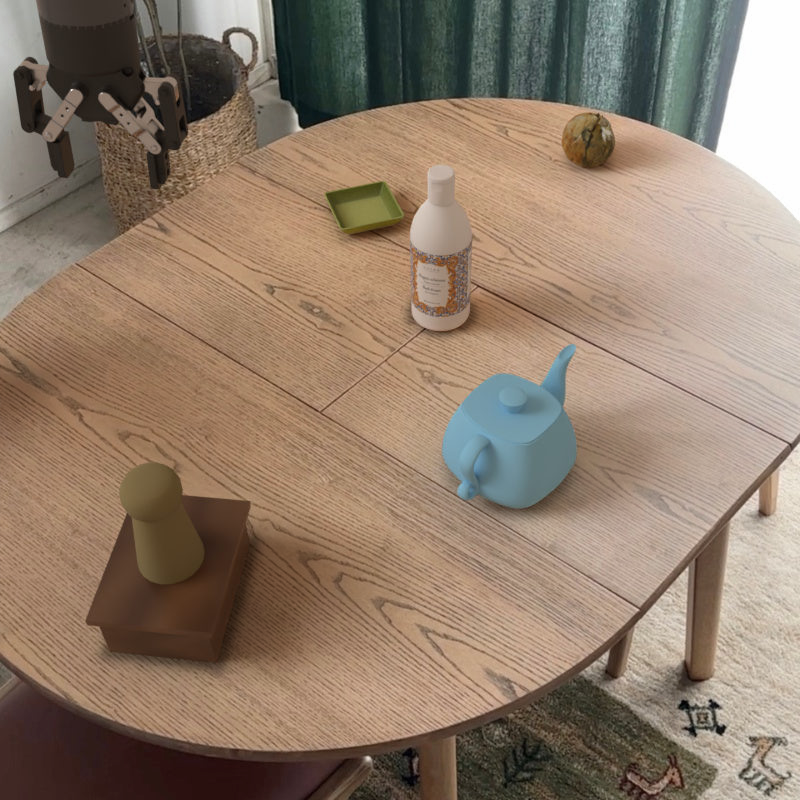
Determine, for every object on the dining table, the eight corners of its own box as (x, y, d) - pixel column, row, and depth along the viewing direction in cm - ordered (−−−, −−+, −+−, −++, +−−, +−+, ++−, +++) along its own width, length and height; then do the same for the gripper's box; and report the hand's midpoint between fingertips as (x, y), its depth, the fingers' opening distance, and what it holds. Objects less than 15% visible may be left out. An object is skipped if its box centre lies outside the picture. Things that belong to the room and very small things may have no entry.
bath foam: (403, 325, 125) (398, 183, 111) (423, 289, 129) (421, 148, 115) (458, 339, 123) (461, 196, 109) (477, 301, 128) (482, 160, 113)
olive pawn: (203, 524, 98) (182, 446, 90) (206, 578, 94) (184, 501, 86) (137, 534, 97) (110, 456, 89) (137, 589, 93) (109, 512, 85)
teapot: (626, 367, 104) (516, 475, 95) (613, 439, 112) (510, 546, 103) (523, 313, 110) (410, 410, 101) (517, 385, 118) (412, 481, 109)
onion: (622, 150, 149) (629, 99, 143) (605, 181, 144) (612, 130, 138) (570, 139, 151) (575, 89, 146) (552, 169, 146) (557, 118, 141)
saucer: (386, 192, 144) (385, 179, 142) (406, 229, 138) (405, 216, 136) (324, 205, 142) (322, 192, 140) (341, 243, 136) (340, 230, 135)
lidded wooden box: (100, 656, 96) (85, 620, 91) (147, 528, 105) (135, 490, 101) (221, 669, 94) (211, 633, 90) (257, 538, 104) (249, 500, 100)
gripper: (-20, 12, 83) (20, 191, 94) (157, 31, 82) (177, 210, 93) (18, -24, 88) (52, 149, 99) (185, -7, 87) (201, 167, 98)
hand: (112, 179), depth 96 cm, fingers open, 8 cm apart
